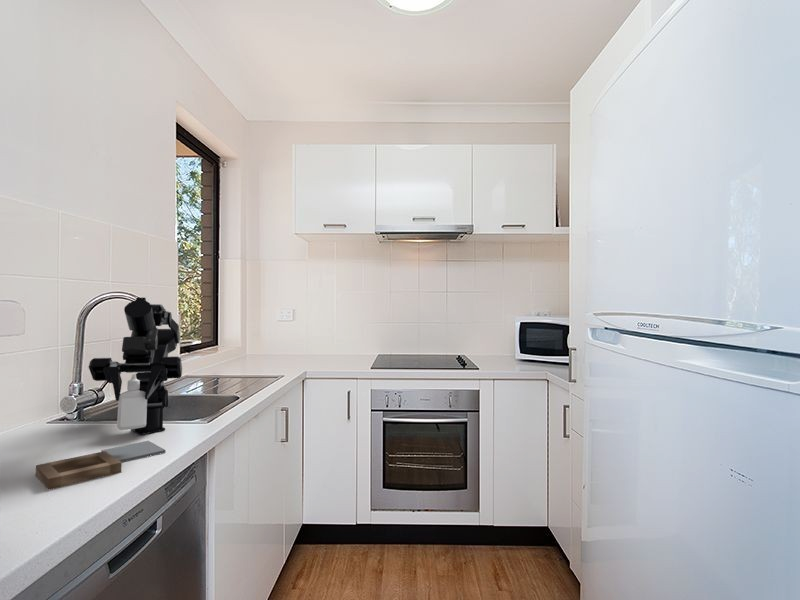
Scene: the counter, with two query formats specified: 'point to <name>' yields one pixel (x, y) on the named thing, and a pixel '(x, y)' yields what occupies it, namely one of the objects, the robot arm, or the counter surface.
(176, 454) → the counter surface
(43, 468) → the wooden tray
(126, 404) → the eye dropper bottle
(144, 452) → the mat
